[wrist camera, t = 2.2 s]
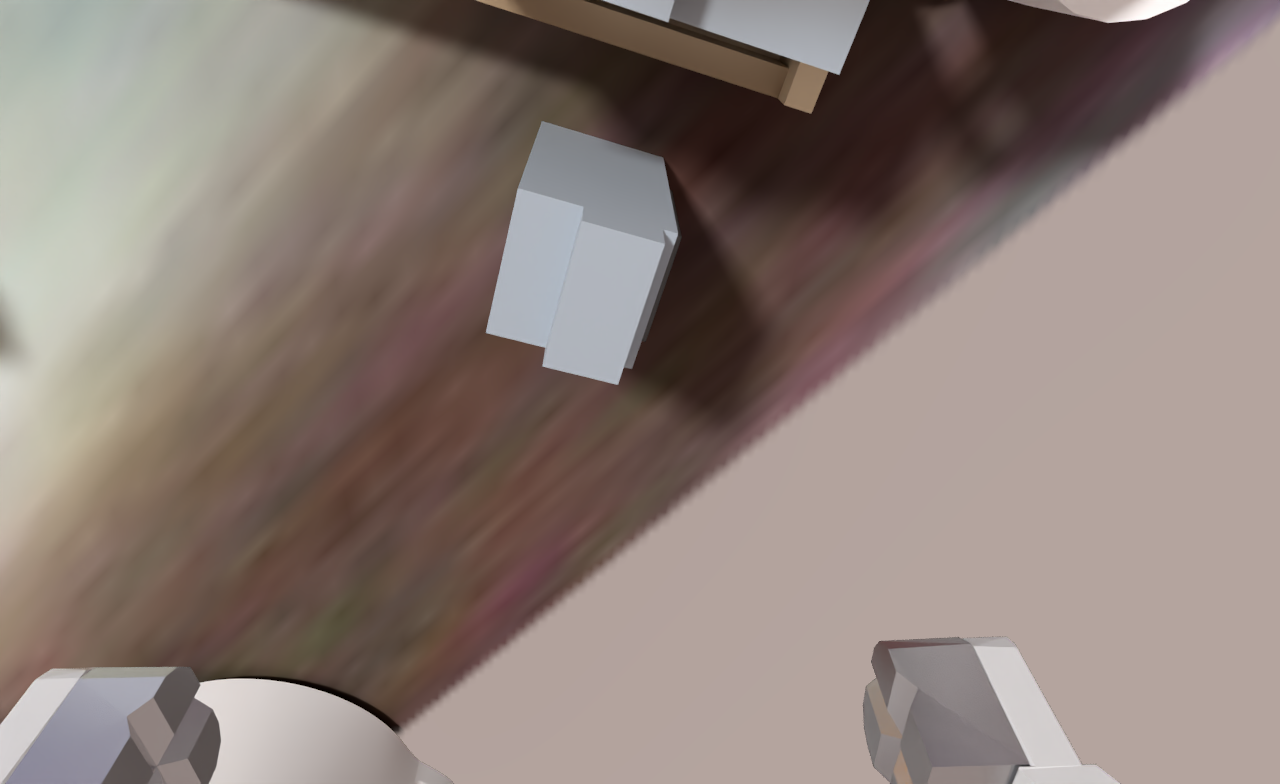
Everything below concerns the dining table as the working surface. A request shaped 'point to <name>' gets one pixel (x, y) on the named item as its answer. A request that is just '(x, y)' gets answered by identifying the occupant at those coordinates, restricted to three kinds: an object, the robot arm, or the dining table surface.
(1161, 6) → the car outline toy
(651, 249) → the stepped grey block
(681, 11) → the wooden rectangular frame
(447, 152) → the dining table surface
